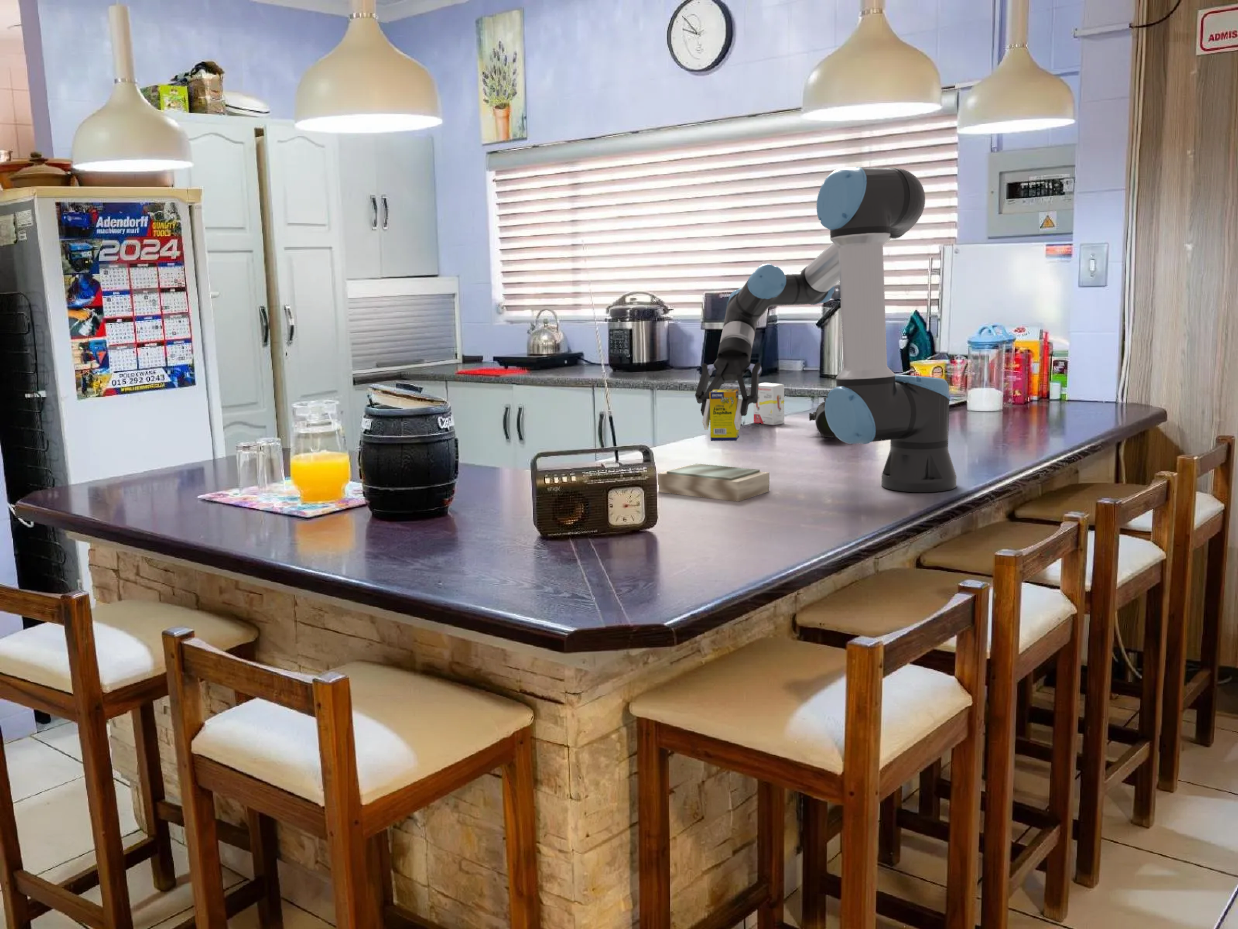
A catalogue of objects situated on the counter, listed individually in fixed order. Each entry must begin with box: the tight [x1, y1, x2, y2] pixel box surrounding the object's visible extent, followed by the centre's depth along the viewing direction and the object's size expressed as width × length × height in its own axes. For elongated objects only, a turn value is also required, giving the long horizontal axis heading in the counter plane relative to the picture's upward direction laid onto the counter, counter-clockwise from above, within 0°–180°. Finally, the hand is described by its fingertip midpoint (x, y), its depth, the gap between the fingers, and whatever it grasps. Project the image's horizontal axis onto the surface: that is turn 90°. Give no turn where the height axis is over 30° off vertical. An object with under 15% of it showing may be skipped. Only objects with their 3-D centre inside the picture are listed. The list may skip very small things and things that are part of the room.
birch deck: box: [657, 463, 770, 502], centre depth 234 cm, size 20×12×4 cm, turn 51°
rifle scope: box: [808, 396, 837, 439], centre depth 307 cm, size 10×26×10 cm, turn 172°
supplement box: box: [709, 388, 740, 442], centre depth 247 cm, size 6×6×11 cm
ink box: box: [753, 382, 785, 426], centre depth 334 cm, size 9×5×12 cm, turn 39°
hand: (721, 425), depth 244 cm, fingers closed on supplement box, 6 cm apart
